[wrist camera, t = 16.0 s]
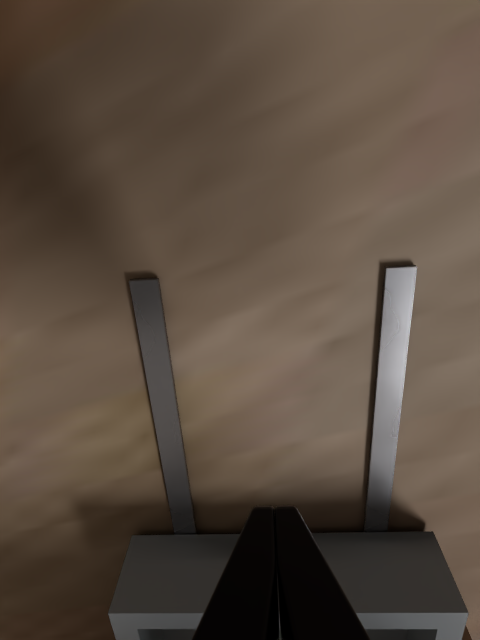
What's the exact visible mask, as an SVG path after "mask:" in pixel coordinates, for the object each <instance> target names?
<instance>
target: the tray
mask: <svg viewBox="0 0 480 640" xmlns="http://www.w3.org/2000/svg"><path fill="white" fill-rule="evenodd" d="M311 534H312V536H313V538H314V539H315V541H316V543H317V545H318V547H319V548H320V550H321V552H322V554H323V555H324V557H325V559H326V561H327V563H328V564H329V566H330V568H331V570H332V571H333V573H334V575H335V577H336V579H337V580H338V582H339V584H340V586H341V588H342V589H343V591H344V593H345V595H346V596H347V598H348V600H349V602H350V604H351V605H352V607H353V609H354V611H355V612H356V614H357V616H358V618H359V620H360V621H361V623H362V625H363V627H364V629H365V630H366V632H367V634H368V636H369V637H370V639H371V640H462V637H463V633H464V629H465V625H466V621H467V617H468V610H467V608H466V606H465V604H464V601H463V599H462V597H461V594H460V592H459V590H458V588H457V585H456V583H455V581H454V578H453V576H452V574H451V572H450V569H449V567H448V565H447V562H446V560H445V558H444V555H443V553H442V551H441V549H440V546H439V544H438V542H437V539H436V537H435V535H434V533H433V532H358V533H311ZM239 536H240V534H201V535H132V537H131V540H130V543H129V547H128V550H127V553H126V556H125V560H124V563H123V566H122V570H121V573H120V576H119V579H118V583H117V586H116V589H115V592H114V596H113V599H112V602H111V605H110V609H109V612H108V615H109V618H110V622H111V625H112V628H113V631H114V635H115V638H116V640H192V637H193V635H194V633H195V631H196V629H197V627H198V624H199V622H200V620H201V618H202V616H203V614H204V611H205V609H206V607H207V605H208V603H209V601H210V598H211V596H212V594H213V592H214V590H215V588H216V585H217V583H218V581H219V579H220V577H221V575H222V572H223V570H224V568H225V566H226V564H227V562H228V559H229V557H230V555H231V553H232V551H233V549H234V546H235V544H236V542H237V540H238V538H239ZM275 536H276V534H275ZM276 558H277V556H276ZM277 580H278V577H277ZM278 602H279V597H278ZM279 640H281V632H280V618H279Z"/></svg>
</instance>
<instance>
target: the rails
mask: <svg viewBox="0 0 480 640" xmlns="http://www.w3.org/2000/svg"><path fill="white" fill-rule="evenodd" d="M416 273H417V266H416V265H409V266H389V267H385V272H384V285H383V297H382V309H381V322H380V334H379V347H378V359H377V371H376V384H375V396H374V409H373V421H372V434H371V446H370V458H369V471H368V483H367V496H366V508H365V520H364V532H387V529H388V520H389V511H390V502H391V494H392V485H393V476H394V467H395V458H396V449H397V440H398V432H399V423H400V414H401V405H402V396H403V387H404V379H405V370H406V361H407V352H408V343H409V334H410V326H411V317H412V308H413V299H414V290H415V281H416ZM129 284H130V290H131V295H132V301H133V306H134V312H135V317H136V323H137V328H138V334H139V340H140V345H141V351H142V356H143V362H144V367H145V373H146V378H147V384H148V390H149V395H150V401H151V406H152V412H153V417H154V423H155V428H156V434H157V440H158V445H159V451H160V456H161V462H162V467H163V473H164V478H165V484H166V489H167V495H168V501H169V506H170V512H171V517H172V523H173V528H174V534H175V535H197V532H196V525H195V518H194V512H193V505H192V498H191V491H190V485H189V478H188V471H187V465H186V458H185V451H184V445H183V438H182V431H181V424H180V418H179V411H178V404H177V398H176V391H175V384H174V378H173V371H172V364H171V357H170V351H169V344H168V337H167V331H166V324H165V317H164V311H163V304H162V297H161V290H160V284H159V278H144V279H130V280H129Z"/></svg>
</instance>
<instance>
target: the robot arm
mask: <svg viewBox="0 0 480 640" xmlns="http://www.w3.org/2000/svg"><path fill="white" fill-rule="evenodd" d="M275 533H276V536H275ZM276 556H277V558H276ZM277 577H278V580H277ZM278 597H279V602H278ZM279 618H280V632H281V640H371V639H370V637H369V636H368V634H367V632H366V630H365V629H364V627H363V625H362V623H361V621H360V620H359V618H358V616H357V614H356V612H355V611H354V609H353V607H352V605H351V604H350V602H349V600H348V598H347V596H346V595H345V593H344V591H343V589H342V588H341V586H340V584H339V582H338V580H337V579H336V577H335V575H334V573H333V571H332V570H331V568H330V566H329V564H328V563H327V561H326V559H325V557H324V555H323V554H322V552H321V550H320V548H319V547H318V545H317V543H316V541H315V539H314V538H313V536H312V534H311V532H310V530H309V529H308V527H307V525H306V523H305V522H304V520H303V518H302V516H301V514H300V513H299V511H298V509H297V508H296V507H295V506H294V505H278V506H276V507H275V515H274V508H273V507H272V506H254V507H253V508H252V510H251V512H250V514H249V516H248V518H247V520H246V523H245V525H244V527H243V529H242V531H241V533H240V536H239V538H238V540H237V542H236V544H235V546H234V549H233V551H232V553H231V555H230V557H229V559H228V562H227V564H226V566H225V568H224V570H223V572H222V575H221V577H220V579H219V581H218V583H217V585H216V588H215V590H214V592H213V594H212V596H211V598H210V601H209V603H208V605H207V607H206V609H205V611H204V614H203V616H202V618H201V620H200V622H199V624H198V627H197V629H196V631H195V633H194V635H193V637H192V640H279Z"/></svg>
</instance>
